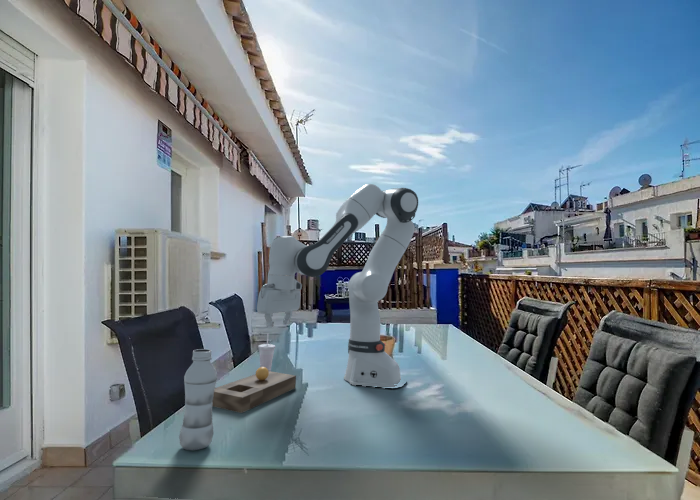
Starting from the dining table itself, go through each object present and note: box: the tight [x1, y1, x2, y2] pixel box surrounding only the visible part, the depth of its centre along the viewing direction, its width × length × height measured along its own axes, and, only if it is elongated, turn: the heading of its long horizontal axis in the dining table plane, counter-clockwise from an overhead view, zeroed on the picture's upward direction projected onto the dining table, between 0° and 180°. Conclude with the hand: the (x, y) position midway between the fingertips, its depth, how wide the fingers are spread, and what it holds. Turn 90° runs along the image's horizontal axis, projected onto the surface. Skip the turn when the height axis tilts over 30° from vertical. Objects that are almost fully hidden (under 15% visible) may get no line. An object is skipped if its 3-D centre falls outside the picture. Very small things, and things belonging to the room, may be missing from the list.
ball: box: [255, 367, 269, 380], centre depth 116 cm, size 4×4×4 cm
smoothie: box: [257, 333, 276, 372], centre depth 143 cm, size 6×6×14 cm
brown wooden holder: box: [212, 370, 297, 414], centre depth 113 cm, size 12×26×4 cm, turn 155°
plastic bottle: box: [178, 348, 218, 451], centre depth 79 cm, size 6×7×20 cm
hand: (278, 325), depth 124 cm, fingers open, 8 cm apart
